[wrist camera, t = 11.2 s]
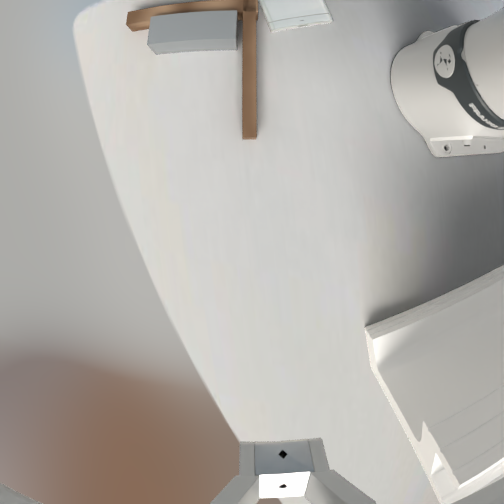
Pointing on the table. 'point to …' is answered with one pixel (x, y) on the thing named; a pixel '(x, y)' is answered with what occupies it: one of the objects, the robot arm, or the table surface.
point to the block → (448, 383)
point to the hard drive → (294, 13)
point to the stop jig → (248, 12)
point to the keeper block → (193, 32)
